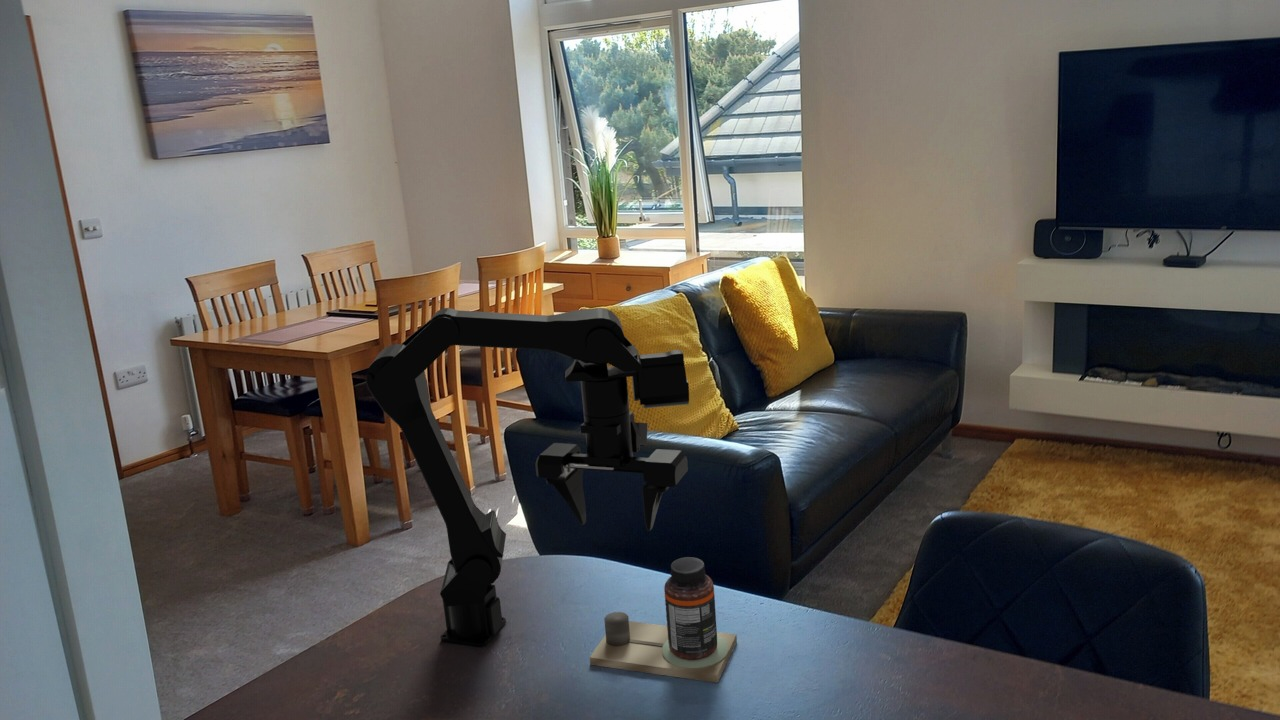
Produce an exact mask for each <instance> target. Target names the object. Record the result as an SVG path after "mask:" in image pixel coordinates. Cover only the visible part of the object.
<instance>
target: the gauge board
mask: <svg viewBox="0 0 1280 720" xmlns="http://www.w3.org/2000/svg"><path fill="white" fill-rule="evenodd" d="M629 619H630V618H629V615H628V614H627V613H626V612H622V611H615V612H610V613H608V614H607V615H605V616H604V618H603V620H604V630H605V631H604V633H605V635H604V636H603V637H602V639H601V640H600V642H599V643H598V645H597V646H596V647H595V649H594V650H593V651H592V653H591V654H590V655H589V664H590V665H592V666H598V667H605V668H611V669H618V670H619V669H620V670H626V671H631V672H632V671H633V672H638V673H647V674H652V675H653V674H654V675H661V676H667V677H675V678H681V679H682V678H683V679H688V680H695V681H703V682H709V683H717V684H718V683H719V681H720V678H721V676H722V674H723V672H724V670H725V668H726V665H727V663H728V662H729V659H730V657H731V655H732V653H733V650H734V649H735V647H736V644H737V642H738V641H737V639H738V638H737V637H738V636H737V634H735V633H728V632H720V631H717V635H719V636H720V637H722V638H723V639H724V640H725V641H726V642H727V645H728V653H727V655H726V657H725V658H724V659H723V660H722V661H720V662H719V663H717V664H715V665H712V666H709V667H705V668H699V669H688V668H681V667H678V666H675V665H673V664H671V663H669V662H668V661H667V660H666V659H665V658H664V657H663V654H662V647H663V645H664V643H665V642H666V641H667V640H668V630H667V625H665V624H654V623H649V622H648V623H647V622H638V621H631V620H629Z"/></svg>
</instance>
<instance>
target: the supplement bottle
mask: <svg viewBox="0 0 1280 720" xmlns="http://www.w3.org/2000/svg"><path fill="white" fill-rule="evenodd" d="M663 587H664V588H663V589H664V601H665V603H664V604H665V605H664V606H665V613H666V615H665V617H666V626H667V630H668V642H669V648H670V651H671V652H672V653H673V654H674V655H675V656H677V657H679V658H681V659H686V660H699V659H702V658H705V657H708V656H709V655H711V654H712V653H714V652H715V650H716V648H717V632H718V630H717V618H716V617H717V615H716V613H717V612H716V599H715V586H714V582H713V580H712V578H711V577H710V576H709V575H707V574H706V569H705V563H704V561H703V560H702V559H699V558H697V557H692V556H691V557H690V556H686V557H685V556H684V557H680V558H678V559H675V560H674V561H672V563H671V564H670V577H668V578H667V580H666V582H665V584H664V586H663Z"/></svg>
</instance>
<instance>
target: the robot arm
mask: <svg viewBox="0 0 1280 720" xmlns="http://www.w3.org/2000/svg"><path fill="white" fill-rule="evenodd" d="M452 346H453V347H454V346H459V347H460V346H461V347H462V346H464V347H481V348H498V349H499V348H500V349H516V350H518V349H519V350H535V351H548V352H553V353H556V354H559V355H562V356H564V357H567V358H570V359H572V360H573V363H572V364H571V365H570V366H569V367H568V368H567V369H566V370H565V371H564V372H565V373H564V374H565V376H564V378H565V382H566V383H575V382H580V387H581V388H580V389H581V390H580V391H581V399H582V409H583V421H584V422H583V423H581V424H580V433H581V434H585V443H586V452H587V453H582V450H581V449H582V448H581V447H580V446H579V445H578V444H575V443H562V442H561V443H560V442H553V443H552V444H550V445H549V446H548V447H547V448H546V449H545V450H544V451H543V452H541V453H540V454H539V455H538V456H537V457H536V461H535V465H534V466H535V473H536V477H538V478H540V479H545V480H546V481H545V482H546V484H547V485H552V486H553V487H554V488H555V489H556V491H557V492H558V494H560V496H561V497H562V498H563V500H564V502H565V503H566V505H568V507H569V509H570V511H572V513H573V515H574V516H575V518H576V520H577V521H578V523H579V524H580V525H585V524H586V522H587V508H586V507H587V506H586V502H585V501H586V500H585V493H584V488H583V487H584V485H583V475H584V470H594V471H605V472H606V471H607V472H622V473H632V474H633V473H635V474H642V476H643V480H644V481H645V484H644V485H643V486H642V488H641V490H642V502H643V512H644V513H643V514H644V522H645V527H646V531H649V532H650V531H651V530H652V529H653V527H654V523H655V521H656V518H657V517H656V516H657V512H658V510H659V505H660V502H661V499H662V496H663V494H664V493H665V492H667V491H668V490H669V488H672V487H675V486H676V487H677V485H678V483H679V482H680V481H681V480H682V478H683V477H684V476H685V474H686V473H687V472H688V471H689V465H688V464H689V463H688V457H687V456H686V454H685V453H684V452H683V450H678V449H664V448H663V449H661V448H656V449H655V450H654V451H653V452H652V453H651V454H650V455H649V457H639V456H634V453H635V454H636V453H638V452H639V451H640V450H641V447H647V441H648V427H649V426H648V425H649V424H648V422H637V421H636V420H635V415H634V412H633V411H630V402H629V401H630V400H629V387H628V378H631V382H632V383H631V384H632V392H633V394H632V395H633V401H634V402H638V401H639V405H640V406H643V409H652V408H654V409H655V408H663V407H674V406H684V405H685V406H686V405H689V403H690V386H689V381H688V377H687V372H686V367H685V359H684V358H685V357H684V353H683V351H682V349H672V350H669V351H666V352H659V353H658V352H657V353H646V354H645V353H644V354H639V351H638V349H637V348H636V346H635V345H633V344H632V342H630V340H629V339H628V338H627V337H626V336H625V334H624V330H623V326H622V322H621V320H620V318H619V317H618V316H617V315H616V314H615V313H614V312H613V311H612V310H610V309H608V308H604V307H596V308H595V307H594V308H585V309H576V310H575V309H574V310H571V311H568V312H567V311H566V312H562V313H557V314H550V315H547V314H546V315H545V314H544V315H543V314H528V313H526V314H525V313H510V312H509V313H508V312H507V313H506V312H493V311H492V312H490V311H475V310H458V309H455V308H451V307H445V308H444V307H443V308H440V309H439V310H436V312H435V313H434V314H433V316H432V317H431V319H429V320H428V321H427V322H426V323H424V324H423V325H422V326H421V327H419V328H418V329H417V330H416V331H414V332H413V333H412V334H411V335H410V336H408V337H407V338H406V339H405V340H404V341H403V342H401V343H395V344H391V345H388V346H386V347H384V348H383V349H382V350H381V351H380V352H379V353H378V354H377V355H376V357H375V359H374V360H373V361H372V362H371V364H370V365H369V367H368V368H367V372H366V374H365V384H366V387H367V390H368V391H369V393H370V394H371V396H372V398H373V399H374V400H375V401H376V403H377V404H378V406H379V407H380V409H381V410H382V411H383V412H384V414H386V415H387V417H388V418H390V419H391V420H392V421H393V422H394V423H395V424H396V425H397V426H398V427H399V429H400V430H401V433H402V434H403V437H404V439H405V441H406V443H407V445H408V447H409V450H410V451H411V453H412V455H413V456H412V457H414V459H415V460H414V461H415V463H416V464H417V467H418V468H419V470H420V473H421V476H423V479H424V481H425V483H426V486H427V488H428V490H429V492H430V494H431V496H432V497H433V500H434V503H435V506H437V509H438V511H439V514H440V516H441V517H442V519H443V522H444V524H445V528H446V533H447V534H446V535H447V538H448V539H447V540H448V547H449V548H448V549H449V555H450V557H451V558H450V559H449V560H448V562H447V565H446V568H445V569H446V570H445V573H444V577H443V581H442V584H441V589H440V593H439V595H440V597H441V599H442V606H443V612H444V621H445V622H444V623H445V627H446V630H445V631H444V632H443V633H441V635H440V637H439V638H440V641H442V642H449V643H455V644H461V643H462V644H463V645H469V646H474V647H475V646H476V647H484V646H486V645H487V644H488V643H489V642H490V640H491V639H493V637H494V636H495V635H496V633H497V632H498V631H500V629H501V628H503V626H504V625H505V624H506V623H507V619H506V617H503V615H502V607H501V599H500V598H499V597H498V596H497V588H496V585H495V584H494V583H495V582H496V581H497V580H498V578H499V576H500V574H501V571H502V564H503V557H504V552H505V551H504V550H505V546H506V545H505V544H506V536H507V533H506V532H505V531H504V530H503V529H502V528H501V526H500V525H499V522H498V517H497V513H496V511H495V510H490V511H489V512H487V513H484V512H483V511H482V510H480V508H479V507H477V505H476V503H475V501H474V500H473V497H472V495H471V493H470V491H469V489H468V487H467V485H466V482H465V480H464V478H463V475H462V474H461V472H460V468H459V467H458V465H457V462H456V460H455V459H454V456H453V454H452V452H451V449H450V446H449V445H448V443H447V441H446V438H445V437H444V434H443V432H442V430H441V428H440V426H439V423H438V421H437V418H436V416H435V415H434V412H433V410H432V405H431V400H430V392H429V386H428V380H427V375H426V372H425V371H426V370H427V369H428V368H429V367H430V366H431V364H432V363H434V362H435V361H436V360H437V359H438V358H439V357H440V356H441V355H442V354H443V353H444V352H446V351H447V350H448V349H449V348H450V347H452ZM608 364H609V365H611V366H608ZM635 421H636V422H635Z"/></svg>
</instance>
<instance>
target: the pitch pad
mask: <svg viewBox="0 0 1280 720" xmlns="http://www.w3.org/2000/svg"><path fill="white" fill-rule="evenodd" d="M727 653H728V645H727V642H726V641H725V640H724V639H723V638H722V637H720V636H719V635H717V648H716V650H715V652H714V653H712V654H711V655H709V656H708V657H705V658H702V659H699V660H686V659H681V658H679V657H677V656H675V655H674V654H673V653H672V652H671V651H670V648H669V642H668V640H667V641H666V642H665V643H664V645H663V647H662V654H663V657H664V658H665V659H666V660H667V661H668V662H669V663H671V664H673V665H675V666H678V667H681V668H688V669H699V668H705V667H709V666H712V665H715V664H717V663H719V662H720V661H722V660H723V659H724V658H725V657H726V655H727Z"/></svg>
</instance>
